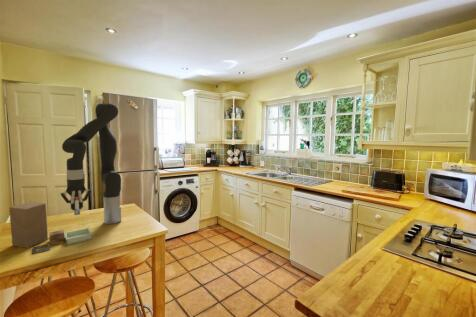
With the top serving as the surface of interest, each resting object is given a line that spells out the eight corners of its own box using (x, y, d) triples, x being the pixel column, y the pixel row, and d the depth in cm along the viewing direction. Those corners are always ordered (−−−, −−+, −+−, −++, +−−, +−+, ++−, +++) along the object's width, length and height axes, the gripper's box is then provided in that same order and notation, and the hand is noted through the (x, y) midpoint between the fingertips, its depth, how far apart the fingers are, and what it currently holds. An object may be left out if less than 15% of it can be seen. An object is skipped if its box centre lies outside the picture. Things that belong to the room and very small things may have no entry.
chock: (64, 238, 122) (63, 229, 122) (64, 241, 119) (64, 232, 118) (49, 241, 118) (49, 232, 118) (49, 245, 115) (49, 235, 114)
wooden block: (27, 248, 111) (24, 209, 108) (11, 245, 113) (8, 207, 110) (48, 239, 120) (46, 203, 118) (33, 236, 122) (30, 201, 120)
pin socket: (50, 244, 115) (49, 243, 115) (50, 249, 110) (50, 248, 110) (33, 248, 111) (33, 247, 111) (33, 253, 106) (33, 252, 106)
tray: (89, 232, 130) (88, 227, 129) (91, 239, 122) (91, 233, 122) (65, 237, 123) (64, 232, 122) (66, 245, 115) (66, 239, 115)
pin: (80, 212, 123) (79, 195, 122) (81, 214, 121) (80, 196, 120) (73, 214, 121) (72, 196, 120) (73, 215, 118) (72, 197, 117)
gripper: (90, 175, 126) (91, 205, 128) (58, 177, 117) (60, 209, 119) (92, 177, 120) (93, 208, 122) (59, 180, 111) (60, 214, 113)
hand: (76, 209), depth 121 cm, fingers closed on pin, 2 cm apart
